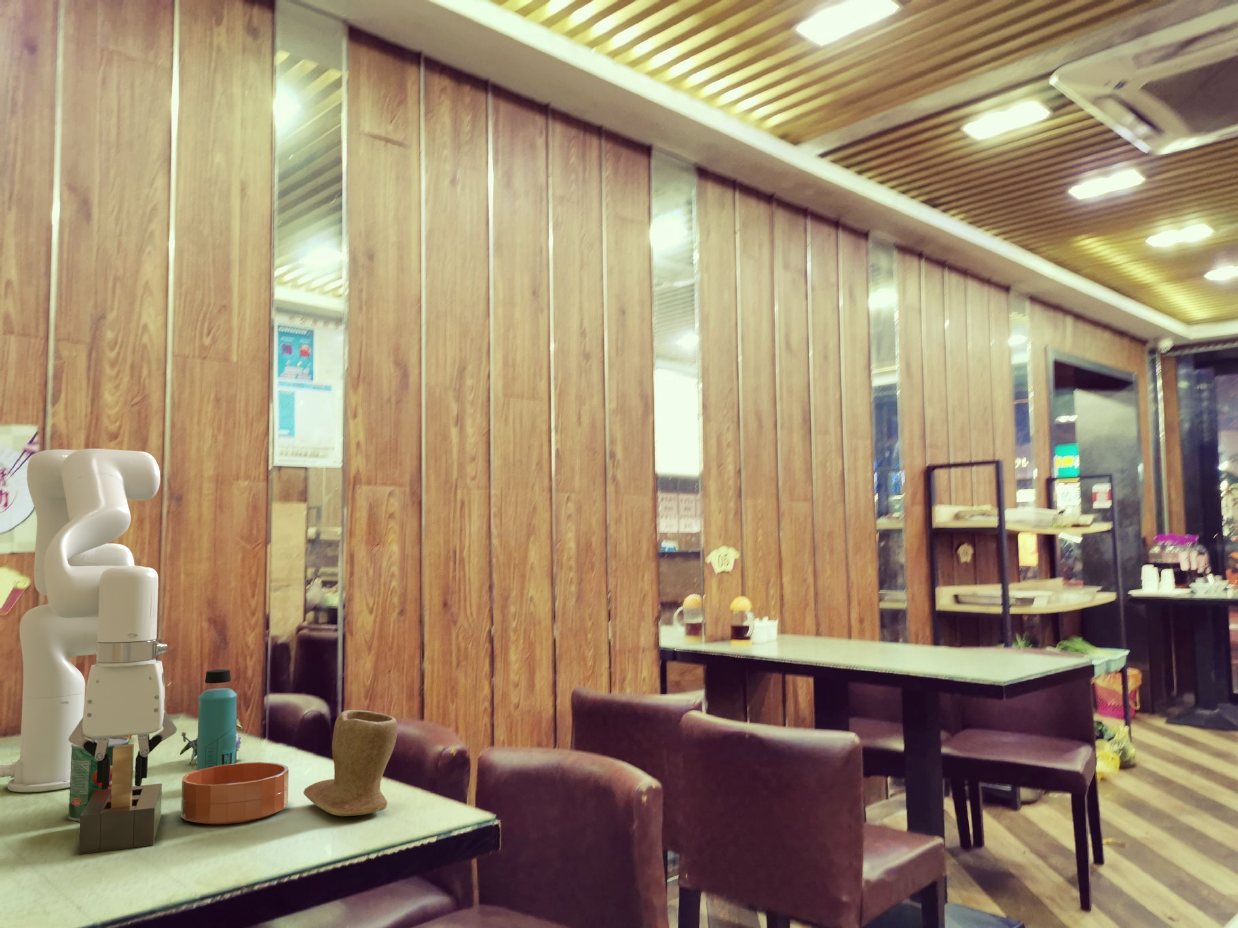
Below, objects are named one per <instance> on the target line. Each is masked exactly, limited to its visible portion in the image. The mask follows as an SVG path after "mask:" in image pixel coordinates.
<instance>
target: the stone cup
mask: <svg viewBox="0 0 1238 928" xmlns="http://www.w3.org/2000/svg"><path fill="white" fill-rule="evenodd" d="M398 726H399V725H398V721H397V719H396V718H395V717H394V716H391V715H389V714H385V713H381V712H375V711H371V710H364V709H363V710H362V709H346V710H343V711H342V712H340V713H339V714H338V715H337V717H336V720H335V722H334V727H333V734H332V742H331V753H332V759H333V770H334V771H333V772H334V774H333V775H334V777H333V778H330V779H325V780H319V781H317V782H314V783H312V784H310V785H309V786H307V787H305V788H304V789H303V795H304V796H305V797H306V798H307V799H308V800H309V801H310V802H311V803H312V804H314V805H315V806H317V807H318V808H319V809H321V810H323V811H325V812H326V813H328V814H331V815H333V816H336V817H337V816H339V817H354V816H364V815H368V814H372V813H373V814H374V813H378V812H380V811H384V810H385V809H386V808H387V807H388V800H387V799H386V798H385V795H383V793H382V791H381V782H382V779H383V775H384V773H385V771H386V767H387V765H388V763H389V761H390V759H391V756H392V754H393V751H394V748H395V746H396V742H397V736H398V728H399V727H398Z"/></svg>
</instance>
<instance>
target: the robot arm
mask: <svg viewBox="0 0 1238 928" xmlns="http://www.w3.org/2000/svg"><path fill="white" fill-rule="evenodd" d="M26 482H27V487H28V488H27V489H28V492H29V495H30V498H31V501H32V504H33V508H34V511H35V515H36V523H37V524H36V534H35V548H34V561H33V562H34V563H33V583H34V587H35V590H36V591H37V592H38V593H39V594H41V595H43V596H46V597H47V598H46V599H47V601H48V603H47V604H40V605H37V606H35V607H32V608H30V609H28V610H27V611H26V612H25V613H24V614H23V615H22V617H21V619H20V623H19V639H20V640H19V641H20V646H21V655H22V674H23V677H22V701H21V703H22V704H21V724H20V725H21V727H20V745H19V759H18V760H17V761H13V762H12V763H11V764H0V778H5V777H7V778H8V777H10V779H11V780H9V781H8V782H7V789H8V790H9V791H11V792H16V793H40V792H51V791H57V790H63V789H67V788H70V772H71V752H72V747H71V745H72V744H75V745H77V746H80V747H82V748H84V749H85V750H86V751H87V752H89V753H90V754H91V755H92V756H93V757H95V759H96V760H97V783H102V786H101V790H106V788H108V786H109V784H110V763H111V757H110V758H109V753H108V752H107V749H108V744H109V739H110V737H117V736H129V735H132V736H137V742H138V751H137V755H136V757H135V767H134V786H141V785H142V783H143V780H144V779H148V769H149V768H148V767H149V766H148V765H149V755H150V754H151V752H152V751H153V750H155V749H156V747H158V745H160V743H162V742H164V741H165V740H167V739H168V738H170V737H172V736H173V735H175V734H176V733H177V731H178V730H177V729H178V728H177V726H176V725H175V723H174V722H173V720H172V719H171V717H170V715H169V713H167V711H166V688H165V687H166V685H165V673H164V667H163V662H162V660H157V657H158V656H159V655H162V654H168V643H163V642H159V641H158V639H157V637H158V636H157V635H158V631H157V630H158V606H159V605H158V604H159V603H158V602H159V574H158V571H156V570H155V569H154V568H152V567H147V566H144V565H143V566H142V565H135V558H134V555H133V553H132V551H131V550H130V549H129V547H127V546H125V545H124V544H121V543H113V542H114V541H116V540H117V539H118V538H121V537H122V536H123V535H124V534H125V533H126V532H127V531H128V529H129V528H130V525H131V523H132V516H131V511H130V507H129V504H128V501H141V502H144V501H150V500H152V499H153V498H154V497H155V496H156V495H157V493H158V491H159V490H160V485H161V472H160V467H159V465H158V463H157V461H156V458H154V456H153V455H151V453H148V452H147V451H141V450H125V449H113V448H112V449H111V448H84V449H83V448H82V449H63V448H62V449H61V448H60V449H45V450H40V451H37V452H35V453H33V455H32V456H31V457H30V458H29V459H28V463H27V469H26ZM93 655H96V659H95V660H96V662H95V663H94V664H92V665H90V668H89V669H90V670H89V673H88V677H87V682H86V679H85V677H84V675H83V673H82V672H81V671H80V670H79V669H78V668H77V667H76V666H75V665H74V664H73V663H72V661H71V658H73V657H80V656H93ZM162 728H163V729H162ZM161 729H162V730H161ZM158 731H159V732H158ZM157 732H158V733H157ZM154 733H155V734H154ZM150 734H154V735H153V736H152V737H151V738H150ZM84 735H85V736H87V737H91V738H98V742H97V743H96V742H95V741H94V740H92V739H89V738H87V737H85V736H84Z"/></svg>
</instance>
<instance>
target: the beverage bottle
mask: <svg viewBox="0 0 1238 928" xmlns="http://www.w3.org/2000/svg"><path fill="white" fill-rule="evenodd" d="M231 681H232V678H231V670H230V669H228V668H227V669H226V668H225V669H224V668H217V669H216V668H215V669H211V670H207V671H206V672H205V679H204V683H205V684H224V683H230V682H231ZM237 698H238V694H237V693H236V692H235V690H233V689H232V688H230V687H229V688H228V687H220V688H219V687H217V688H209V689H208V688H207V689H206V690H204V691H203V692H202V693H201V694H200V695H199V696H198V698H197V700H198V706H197V707H198V709H197V710H198V711H197V712H198V713H197V737H198V738H197V737H196V738H197V742H196V743H197V755H196V760H195V762H196V763H195V767H196V770H199V769H204V768H208V767H213V766H219V765H225V764H234V763H238V761H237V756H238V751H237V749H236V742H237V741H236V734H237V725H236V721H237V719H238V712H237V700H238V699H237Z"/></svg>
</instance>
